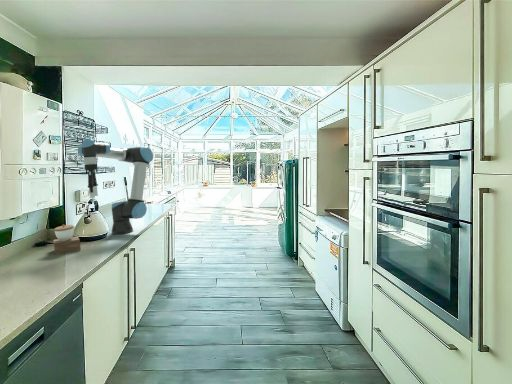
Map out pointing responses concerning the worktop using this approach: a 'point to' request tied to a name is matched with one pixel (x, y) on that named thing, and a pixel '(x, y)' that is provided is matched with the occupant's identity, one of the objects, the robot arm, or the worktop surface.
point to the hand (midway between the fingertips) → (94, 196)
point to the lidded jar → (64, 232)
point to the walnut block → (67, 245)
